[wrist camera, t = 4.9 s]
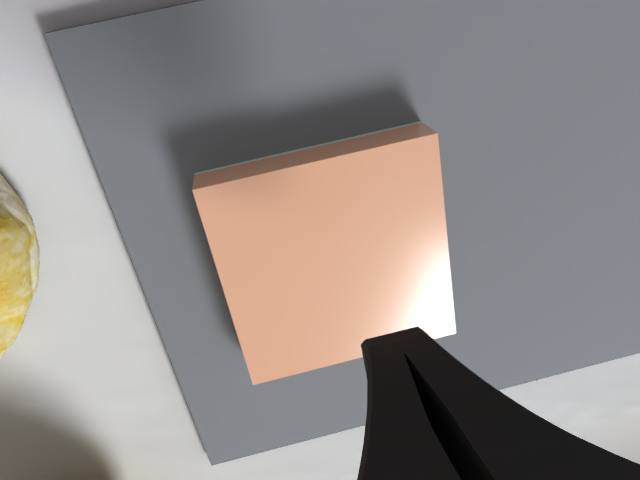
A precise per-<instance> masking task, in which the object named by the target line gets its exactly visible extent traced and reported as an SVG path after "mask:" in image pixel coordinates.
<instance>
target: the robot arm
mask: <svg viewBox="0 0 640 480" xmlns="http://www.w3.org/2000/svg"><path fill="white" fill-rule="evenodd" d="M361 349H362V355H363V360H364V365H365V370H366V376H367V415H366V425H365V436H364V444H363V451H362V457H361V463H360V468H359V474H358V479H357V480H640V464H637V463H635V462H632V461H630V460H628V459H625V458H623V457H620V456H618V455H615V454H613V453H611V452H609V451H607V450H605V449H602V448H600V447H598V446H596V445H594V444H592V443H589V442H587V441H585V440H583V439H581V438H579V437H576V436H574V435H572V434H570V433H568V432H566V431H565V430H563V429H561V428H559V427H557V426H555V425H553V424H552V423H550V422H548V421H546V420H545V419H543V418H541V417H539V416H538V415H536V414H534V413H533V412H531V411H529V410H528V409H526V408H524V407H523V406H521V405H520V404H518V403H516V402H515V401H513V400H512V399H510V398H509V397H507V396H506V395H504V394H503V393H501V392H500V391H498V390H497V389H496V388H494V387H493V386H491V385H490V384H489V383H487V382H486V381H484V380H483V379H482V378H481V377H479V376H478V375H477V374H475V373H474V372H473V371H471V370H470V369H469V368H467V367H466V366H465V365H463V364H462V363H461V362H460V361H458V360H457V359H456V358H455V357H454V356H452V355H451V354H450V353H449V352H448V351H446V350H445V349H444V348H443V347H442V346H440V345H439V344H438V343H437V342H436V341H435V340H434V339H433V338H431V337H430V336H429V335H428V334H427V333H426V332H425V331H424V330H423V329H421V328H419V327H418V326H417V327H413V328H409V329H405V330H401V331H397V332H393V333H389V334H385V335H381V336H377V337H373V338H369V339H365V340H364V341H363V343H362V344H361Z"/></svg>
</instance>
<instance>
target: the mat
mask: <svg viewBox="0 0 640 480" xmlns="http://www.w3.org/2000/svg"><path fill="white" fill-rule="evenodd" d="M44 36H45V39H46V42H47V44H48V47H49V49H50V52H51V54H52V57H53V60H54V62H55V65H56V67H57V70H58V72H59V75H60V78H61V80H62V83H63V85H64V88H65V90H66V93H67V96H68V98H69V101H70V103H71V106H72V108H73V111H74V114H75V116H76V119H77V121H78V124H79V126H80V129H81V132H82V134H83V137H84V139H85V142H86V144H87V147H88V150H89V152H90V155H91V157H92V160H93V162H94V165H95V168H96V170H97V173H98V175H99V178H100V180H101V183H102V186H103V188H104V191H105V193H106V196H107V198H108V201H109V204H110V206H111V209H112V211H113V214H114V216H115V219H116V222H117V224H118V227H119V229H120V232H121V234H122V237H123V240H124V242H125V245H126V247H127V250H128V252H129V255H130V258H131V260H132V263H133V265H134V268H135V270H136V273H137V276H138V278H139V281H140V283H141V286H142V288H143V291H144V294H145V296H146V299H147V301H148V304H149V306H150V309H151V312H152V314H153V317H154V319H155V322H156V324H157V327H158V330H159V332H160V335H161V337H162V340H163V342H164V345H165V348H166V350H167V353H168V355H169V358H170V360H171V363H172V366H173V368H174V371H175V373H176V376H177V378H178V381H179V384H180V386H181V389H182V391H183V394H184V396H185V399H186V402H187V404H188V407H189V409H190V412H191V414H192V417H193V420H194V422H195V425H196V427H197V430H198V432H199V435H200V438H201V440H202V443H203V445H204V448H205V450H206V453H207V456H208V458H209V461H210V463H211V466H212V465H215V464H219V463H223V462H227V461H231V460H234V459H238V458H242V457H246V456H250V455H253V454H257V453H261V452H265V451H269V450H272V449H276V448H280V447H284V446H288V445H291V444H295V443H299V442H303V441H307V440H310V439H314V438H318V437H322V436H326V435H329V434H333V433H337V432H341V431H345V430H348V429H352V428H356V427H360V426H364V425H366V415H367V376H366V370H365V365H364V360H363V357H361V358H358V359H354V360H350V361H346V362H342V363H338V364H334V365H330V366H326V367H322V368H318V369H314V370H311V371H307V372H303V373H299V374H295V375H291V376H287V377H283V378H279V379H275V380H271V381H267V382H264V383H260V384H256V385H253V384H252V380H251V377H250V374H249V371H248V368H247V364H246V361H245V358H244V355H243V352H242V348H241V345H240V342H239V339H238V336H237V332H236V329H235V326H234V323H233V320H232V316H231V313H230V310H229V307H228V304H227V300H226V297H225V294H224V291H223V288H222V284H221V281H220V278H219V275H218V272H217V268H216V265H215V262H214V259H213V255H212V252H211V249H210V246H209V243H208V239H207V236H206V233H205V230H204V227H203V223H202V220H201V217H200V214H199V211H198V207H197V204H196V201H195V198H194V195H193V191H192V187H193V180H194V174H195V173H197V172H201V171H205V170H210V169H214V168H218V167H223V166H227V165H231V164H236V163H240V162H244V161H249V160H253V159H257V158H262V157H266V156H270V155H275V154H279V153H283V152H288V151H292V150H297V149H301V148H305V147H310V146H314V145H318V144H323V143H327V142H331V141H336V140H340V139H344V138H349V137H353V136H357V135H362V134H366V133H370V132H375V131H379V130H383V129H388V128H392V127H396V126H401V125H405V124H410V123H414V122H418V121H422V122H423V123H424V124H426V125H427V126H429V127H430V128H431V129H433V130H434V131H436V132H437V133H438V140H439V151H440V162H441V173H442V184H443V195H444V205H445V216H446V227H447V238H448V249H449V260H450V270H451V281H452V292H453V303H454V314H455V325H456V333H455V334H452V335H448V336H444V337H440V338H436V339H434V340H435V341H436V342H437V343H438V344H439V345H440V346H442V347H443V348H444V349H445V350H446V351H448V352H449V353H450V354H451V355H452V356H454V357H455V358H456V359H457V360H458V361H460V362H461V363H462V364H463V365H465V366H466V367H467V368H469V369H470V370H471V371H473V372H474V373H475V374H477V375H478V376H479V377H481V378H482V379H483V380H484V381H486V382H487V383H489V384H490V385H491V386H493V387H494V388H496V389H497V390H500V389H504V388H508V387H512V386H516V385H519V384H523V383H527V382H531V381H535V380H538V379H542V378H546V377H550V376H554V375H557V374H561V373H565V372H569V371H573V370H576V369H580V368H584V367H588V366H592V365H595V364H599V363H603V362H607V361H611V360H614V359H618V358H622V357H626V356H630V355H633V354H637V353H640V0H200V1H195V2H191V3H186V4H181V5H176V6H172V7H167V8H162V9H158V10H153V11H148V12H143V13H139V14H134V15H129V16H124V17H120V18H115V19H110V20H105V21H101V22H96V23H91V24H86V25H82V26H77V27H72V28H67V29H63V30H58V31H53V32H49V33H45V34H44Z"/></svg>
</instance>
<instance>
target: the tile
mask: <svg viewBox="0 0 640 480" xmlns="http://www.w3.org/2000/svg"><path fill="white" fill-rule="evenodd" d="M192 191H193V195H194V198H195V201H196V204H197V207H198V211H199V214H200V217H201V220H202V223H203V227H204V230H205V233H206V236H207V239H208V243H209V246H210V249H211V252H212V255H213V259H214V262H215V265H216V268H217V272H218V275H219V278H220V281H221V284H222V288H223V291H224V294H225V297H226V300H227V304H228V307H229V310H230V313H231V316H232V320H233V323H234V326H235V329H236V332H237V336H238V339H239V342H240V345H241V348H242V352H243V355H244V358H245V361H246V364H247V368H248V371H249V374H250V377H251V380H252V384H253V385H256V384H260V383H264V382H267V381H271V380H275V379H279V378H283V377H287V376H291V375H295V374H299V373H303V372H307V371H311V370H314V369H318V368H322V367H326V366H330V365H334V364H338V363H342V362H346V361H350V360H354V359H358V358H361V357H363V355H362V349H361V344H362V343H363V341H364V340H365V339H369V338H373V337H377V336H381V335H385V334H389V333H393V332H397V331H401V330H405V329H409V328H413V327H417V326H418V327H419V328H421V329H423V330H424V331H425V332H426V333H427V334H428V335H429V336H430V337H431V338H433V339H436V338H440V337H444V336H448V335H452V334H455V333H456V325H455V314H454V303H453V292H452V281H451V270H450V260H449V249H448V238H447V227H446V216H445V205H444V195H443V184H442V173H441V162H440V151H439V140H438V133H437V132H436V131H434V130H433V129H431V128H430V127H429V126H427V125H426V124H424V123H423V122H422V121H418V122H414V123H410V124H405V125H401V126H396V127H392V128H388V129H383V130H379V131H375V132H370V133H366V134H362V135H357V136H353V137H349V138H344V139H340V140H336V141H331V142H327V143H323V144H318V145H314V146H310V147H305V148H301V149H297V150H292V151H288V152H283V153H279V154H275V155H270V156H266V157H262V158H257V159H253V160H249V161H244V162H240V163H236V164H231V165H227V166H223V167H218V168H214V169H210V170H205V171H201V172H197V173H195V174H194V180H193V187H192Z"/></svg>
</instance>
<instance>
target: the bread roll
mask: <svg viewBox="0 0 640 480" xmlns="http://www.w3.org/2000/svg"><path fill="white" fill-rule="evenodd" d="M39 263H40V261H39V245H38V240H37V236H36V232H35V226H34V223H33V220H32V217H31V216H30V214H29V212H28V210H27V209H26V207H25V205H24V204H23V202H22V201H21V199H20V198H19V197H18V195H17V194H16V193H15V192H14V190H13V189H12V188H11V186H10V185H9V184H8V183H7V181H6V180H5V179H4V177H3V176H2V175H1V174H0V357H1V356H2V355H3V354H4V353H5V352H6V351H7V350H8V348H9V347H10V346H11V344H12V343H13V342H14V340H15V339H16V338H17V336H18V334H19V333H20V331H21V328H22V325H23V322H24V318H25V316H26V312H27V310H28V309H29V306H30V303H31V300H32V297H33V295H34V293H35V291H36V288H37V284H38V280H39Z"/></svg>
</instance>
